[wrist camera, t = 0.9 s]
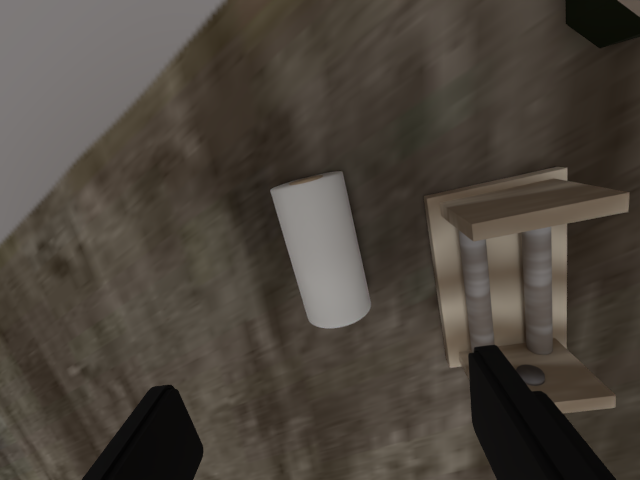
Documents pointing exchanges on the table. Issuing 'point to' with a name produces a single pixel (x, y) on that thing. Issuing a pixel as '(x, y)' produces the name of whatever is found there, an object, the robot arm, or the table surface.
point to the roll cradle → (516, 276)
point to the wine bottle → (604, 20)
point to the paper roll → (323, 248)
